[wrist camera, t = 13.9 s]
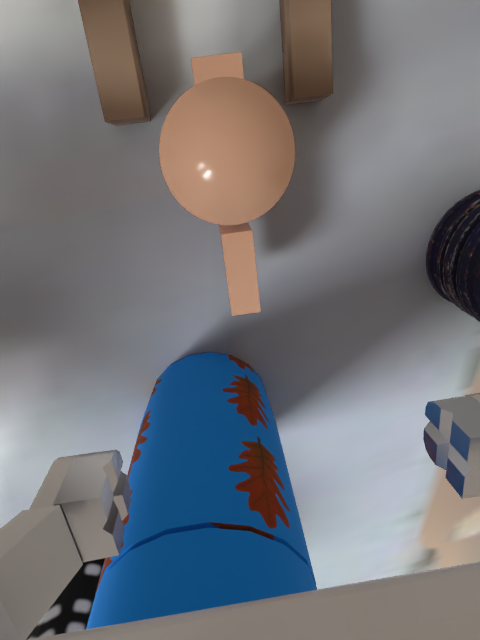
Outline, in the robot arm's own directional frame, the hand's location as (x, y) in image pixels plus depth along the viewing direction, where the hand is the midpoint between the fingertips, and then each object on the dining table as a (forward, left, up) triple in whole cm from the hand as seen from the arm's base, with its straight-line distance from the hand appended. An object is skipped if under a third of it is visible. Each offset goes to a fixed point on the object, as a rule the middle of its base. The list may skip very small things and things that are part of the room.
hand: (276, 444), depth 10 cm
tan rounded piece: (+5, 0, -21) cm, 22 cm away
